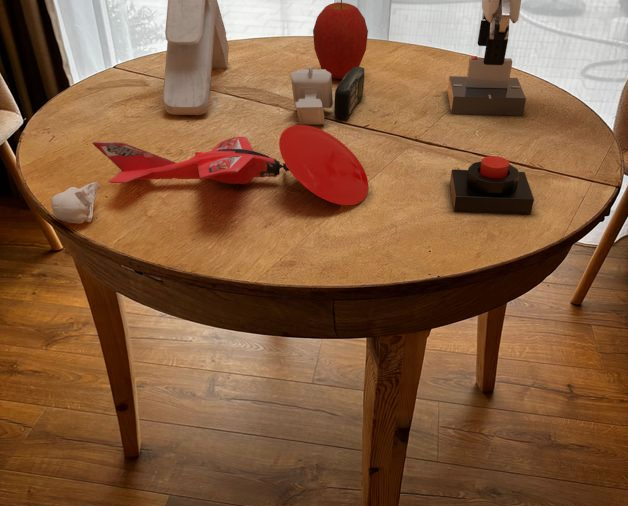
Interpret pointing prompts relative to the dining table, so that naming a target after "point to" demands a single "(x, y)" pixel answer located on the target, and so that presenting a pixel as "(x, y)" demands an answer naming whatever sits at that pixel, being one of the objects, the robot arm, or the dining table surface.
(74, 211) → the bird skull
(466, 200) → the button block
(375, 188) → the dining table surface
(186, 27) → the leaning slabs
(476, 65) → the tap handle
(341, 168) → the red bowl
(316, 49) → the apple
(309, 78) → the white blocky device
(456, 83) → the base
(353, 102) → the mobile phone
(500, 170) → the button
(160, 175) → the toy airplane
